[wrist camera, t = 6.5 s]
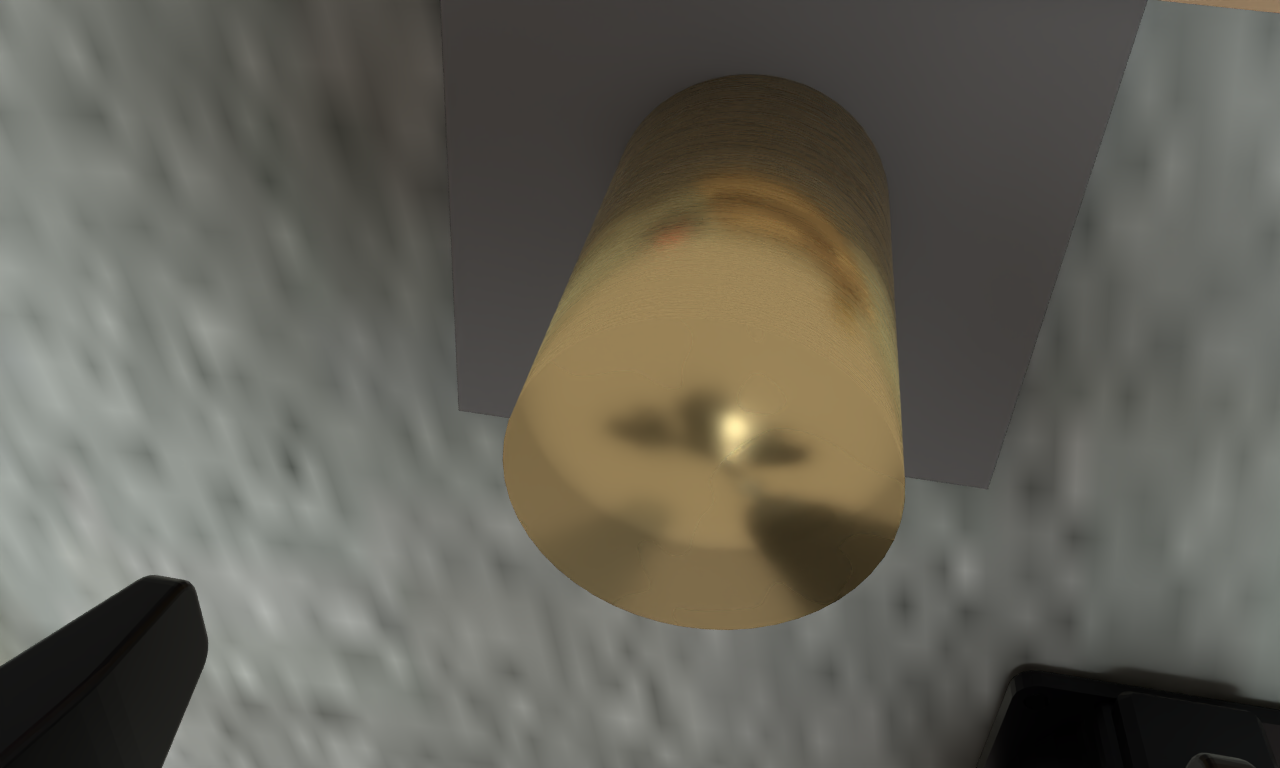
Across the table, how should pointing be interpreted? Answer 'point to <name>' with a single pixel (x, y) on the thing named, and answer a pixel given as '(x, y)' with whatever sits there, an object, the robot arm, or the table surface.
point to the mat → (865, 87)
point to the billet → (722, 368)
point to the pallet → (1238, 4)
